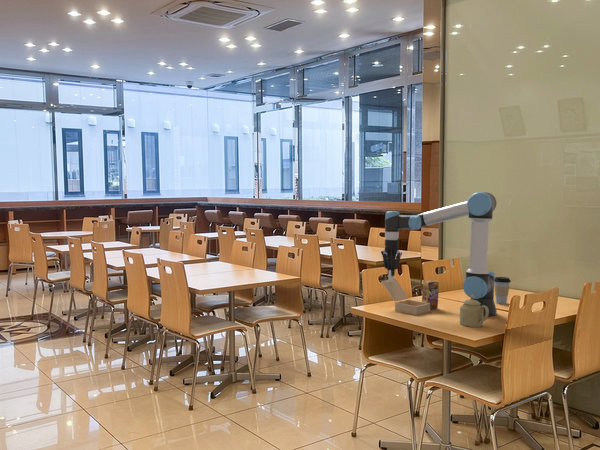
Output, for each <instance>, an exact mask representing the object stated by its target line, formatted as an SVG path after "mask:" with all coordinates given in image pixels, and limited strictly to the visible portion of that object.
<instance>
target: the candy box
mask: <svg viewBox="0 0 600 450" xmlns="http://www.w3.org/2000/svg"><path fill="white" fill-rule="evenodd" d="M439 288H440V281H438V280H423V281H422V290H421V291H422V293H421V295H422V296H421V302H425V303H430V310H434V309H438V308H439V307H438V306H439V291H440V289H439Z"/></svg>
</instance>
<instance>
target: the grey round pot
mask: <svg viewBox="0 0 600 450" xmlns="http://www.w3.org/2000/svg"><path fill="white" fill-rule="evenodd" d="M469 298H470V299H466V300H465V301H463V302H462V303H463V304H462V305H461V306H460V307H459V324H460V325H461V326H463V327H469V328H480V327H483V325H484V322H485V321H487V319H488V317H489V316H488V315H489V309H488V307H487V306H485V305H483V306H480V304H481V303H479V302H478V301H476V300H474V295H473V294H472V295H471V296H470V297H469ZM483 308H485V316H483V310H484V309H483Z"/></svg>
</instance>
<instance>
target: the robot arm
mask: <svg viewBox="0 0 600 450" xmlns="http://www.w3.org/2000/svg"><path fill="white" fill-rule="evenodd" d="M497 204H498V203H497V199H496V197H495V195H493V194H492V193H490V192H487V191H477V192H474V193H472V195H470V196H469V198H468V199H467V200H466V201H463V202H459V203H455V204H452V205H448V206H444V207H441V208H437V209H433V210H430V211H426V212H421V213H418V214H409V215H408V214H407V215H406V214H405V215H402V214H400V212H399V211H394V210H391V211H390V210H388V211H386V212H385V217H384V249H383V250H381V251H380V253H381V257H382V262H383V266H384V269H386V270H387V276H388V280H389V281H388V282H393V279H394V277H395V272H396V271H397V270H398V269H399V265H400V261H401V257H402V256H403V252H400V249H399V241H400V240H399V236H400V235H399V234H400V230H415V231H416V230H420V229H421V228H423V227H428V226H432V225H434V224H435V225H436V224H440V223H443V222H448V221H451V220H455V219H459V218H464V217H467V216H468V219H469V220H470V221H471V224H470V243H469V263H468V265H469V267H468V268H467V269H466V270H465V280H464V281H463V283H462V290H463V292H464V294H465V295H467V297H469V298H470V296H471V295H472V294H473V295H474V300H476V301H478V302H479V303H481V304H480V306H483V305H485V306H487V307H488V309H489V315H488V317H493V316H496V315H497V308H496V302H495V301H494V299H495V298H494V296H495V281H494V279H495V277H496V275H495V272H494V271H491V270H490V271H489V270H488V269H487V266H488V249H489V247H488V246H489V229H490V222H491V221H492V220H493V217H494V215H493V214H494V213H493V212H494V211H495V210H496V208H497ZM483 309H484V310H483V317H485V308H483Z"/></svg>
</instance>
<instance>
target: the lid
mask: <svg viewBox="0 0 600 450" xmlns="http://www.w3.org/2000/svg"><path fill="white" fill-rule="evenodd" d="M388 281H389V279H386V280H385V279H384V280H381V281H380V282H381V284H382V285H383V286H384V289H386V291H387V293H388V294H389V295H390V297H391V298H392V300H393V301H394V302H395V303H396V302H400V301H405V300H409V297H408V295H407V294H406V292H405V290H404V289H403V288H402V287H401V284H400V283H399V282H398V280H397V278H393V282H388Z"/></svg>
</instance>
